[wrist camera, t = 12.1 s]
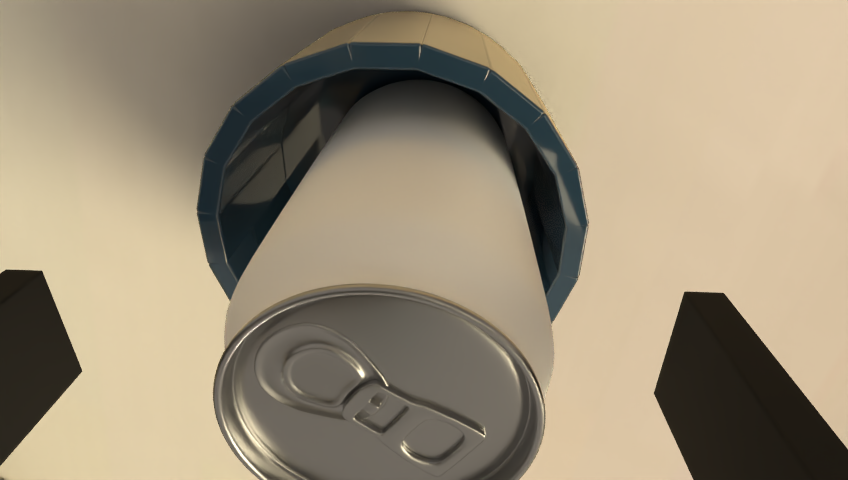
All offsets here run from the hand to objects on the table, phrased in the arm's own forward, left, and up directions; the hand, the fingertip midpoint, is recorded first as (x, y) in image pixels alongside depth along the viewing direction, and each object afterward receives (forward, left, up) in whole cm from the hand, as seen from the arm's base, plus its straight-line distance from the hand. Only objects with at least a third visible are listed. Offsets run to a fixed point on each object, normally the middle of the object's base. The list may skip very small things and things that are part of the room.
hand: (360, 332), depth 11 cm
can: (+1, 0, -10) cm, 10 cm away
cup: (0, 0, -10) cm, 10 cm away
